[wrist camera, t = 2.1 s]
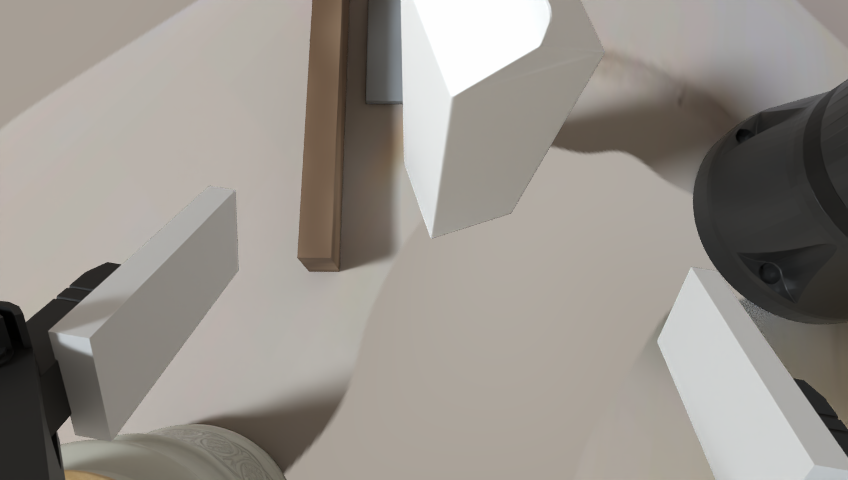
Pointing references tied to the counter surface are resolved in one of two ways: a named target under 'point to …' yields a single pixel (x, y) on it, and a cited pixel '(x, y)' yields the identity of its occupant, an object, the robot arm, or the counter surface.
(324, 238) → the guide jig
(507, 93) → the milk
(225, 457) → the jar
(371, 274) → the counter surface
